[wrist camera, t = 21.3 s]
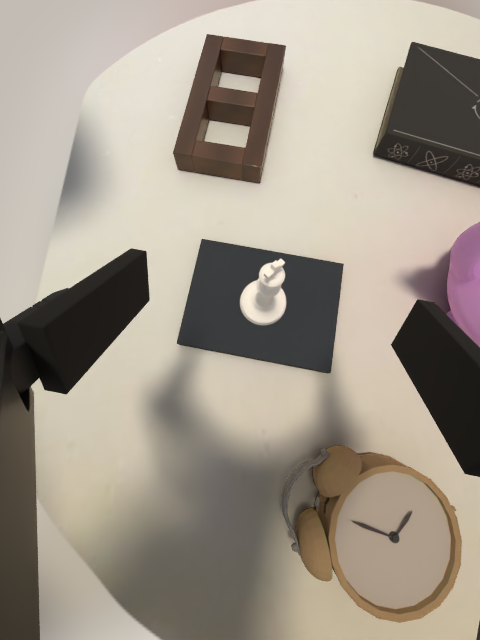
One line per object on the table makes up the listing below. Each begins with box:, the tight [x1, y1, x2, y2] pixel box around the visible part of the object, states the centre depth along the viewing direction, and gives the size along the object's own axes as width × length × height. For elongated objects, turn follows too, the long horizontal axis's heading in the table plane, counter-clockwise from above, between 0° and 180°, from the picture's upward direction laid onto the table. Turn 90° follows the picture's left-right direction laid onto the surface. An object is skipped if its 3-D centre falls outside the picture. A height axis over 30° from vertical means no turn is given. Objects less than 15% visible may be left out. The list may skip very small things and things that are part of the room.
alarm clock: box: [282, 446, 462, 622], centre depth 23 cm, size 11×5×15 cm
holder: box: [173, 34, 286, 183], centre depth 33 cm, size 10×18×2 cm, turn 169°
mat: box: [177, 239, 343, 373], centre depth 28 cm, size 16×12×1 cm
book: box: [374, 42, 480, 186], centre depth 32 cm, size 22×15×3 cm
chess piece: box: [240, 259, 286, 325], centre depth 23 cm, size 5×5×10 cm
